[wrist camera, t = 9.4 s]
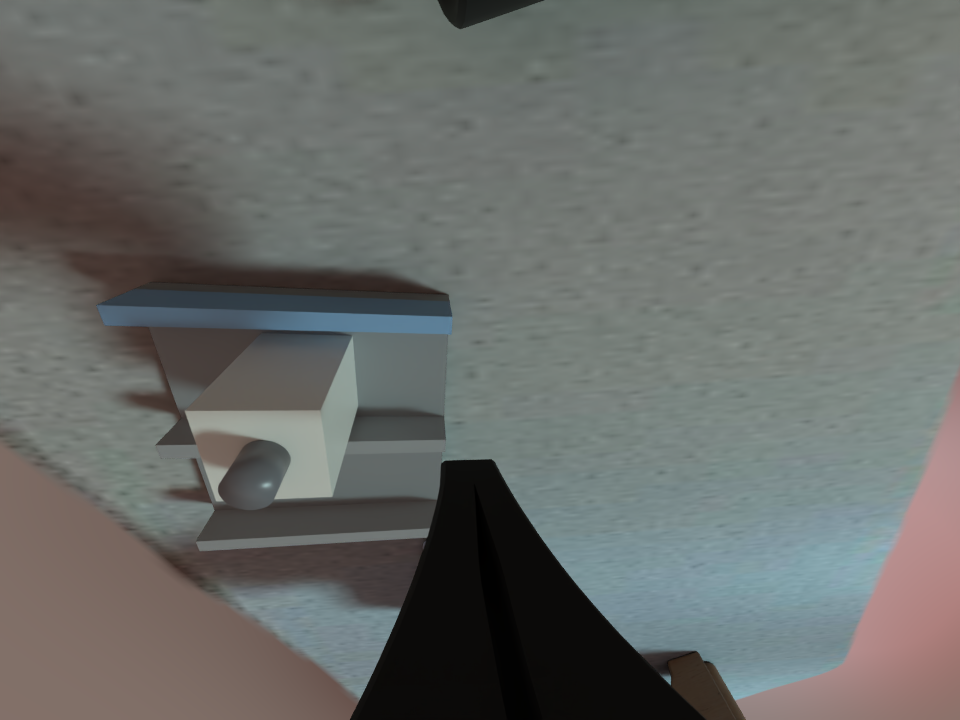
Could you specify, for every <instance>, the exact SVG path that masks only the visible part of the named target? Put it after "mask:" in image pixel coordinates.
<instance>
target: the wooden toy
mask: <svg viewBox="0 0 960 720" xmlns="http://www.w3.org/2000/svg"><path fill="white" fill-rule="evenodd" d="M668 667H669V671H670V675H671V686H672V687H673V688H674V689H675V690H676V691H677V692H678V693H679V694H680V695H681V696H682V697H683V698H684V699H685V700H686V701H688V702H689V703H690V704H691V705H692V706H693V707H694V708H695V709H696V710H697V711H698V712H699V713H700V714H701V715H702V716H703V717H704V718H706V719H707V720H746V719H745V717H744V716H743V714H742V712H741V710H740V709H739V707H738V705H737V704H736V702H735V700H734V698H733V696H732V695H731V693H730V691H729V690H728V688H727V686H726V684H725V683H724V681H723V679H722V677H721V676H720V674H719V672H718V670H717V669H716V667H715V666H714V665H713V664H712V663H704V662H703V660H702V658H701V656H700V654H699V653H698V652H694V653H691V654H688V655H685V656H681V657H678V658H675V659H672V660H669V661H668Z"/></svg>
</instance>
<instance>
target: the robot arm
mask: <svg viewBox="0 0 960 720" xmlns="http://www.w3.org/2000/svg"><path fill="white" fill-rule="evenodd" d="M350 720H707V719H706V718H704V717H703V716H702V715H701V714H700V713H699V712H698V711H697V710H696V709H695V708H694V707H693V706H692V705H691V704H690V703H689V702H688V701H686V700H685V699H684V698H683V697H682V696H681V695H680V694H679V693H678V692H677V691H676V690H675V689H674V688H673V687H672V686H671V685H670V684H668V682H667V681H666V680H665V679H664V678H663V677H662V676H661V675H660V674H659V673H658V672H657V671H656V670H655V669H654V668H653V667H652V666H651V665H650V664H649V663H648V662H647V661H646V660H645V659H644V658H643V657H642V656H641V655H640V654H639V653H638V652H637V651H636V650H635V649H634V648H633V647H632V646H631V645H630V644H629V643H628V642H627V641H626V640H625V639H624V638H623V637H622V636H621V635H620V634H619V632H618V631H617V630H616V629H615V628H614V627H613V626H612V625H611V624H610V623H609V621H608V620H607V619H606V618H605V617H604V616H603V615H602V614H601V613H600V611H599V610H598V609H597V608H596V607H595V606H594V605H593V603H592V602H591V601H590V600H589V599H588V598H587V596H586V595H585V594H584V593H583V592H582V591H581V589H580V588H579V587H578V586H577V585H576V583H575V582H574V581H573V580H572V578H571V577H570V576H569V575H568V573H567V572H566V571H565V569H564V568H563V567H562V566H561V564H560V563H559V562H558V560H557V559H556V558H555V556H554V555H553V554H552V552H551V551H550V550H549V548H548V547H547V546H546V544H545V543H544V541H543V540H542V539H541V537H540V536H539V534H538V533H537V531H536V530H535V528H534V527H533V525H532V524H531V522H530V521H529V519H528V518H527V516H526V515H525V513H524V512H523V510H522V509H521V507H520V506H519V504H518V503H517V501H516V499H515V498H514V496H513V494H512V493H511V491H510V489H509V488H508V486H507V484H506V482H505V481H504V479H503V477H502V475H501V473H500V471H499V469H498V467H497V466H496V463H495V462H494V461H493V460H492V459H487V460H452V461H444V462H443V463H442V464H441V471H440V487H439V493H438V498H437V503H436V507H435V511H434V515H433V518H432V522H431V526H430V530H429V533H428V537H427V540H426V541H425V542H424V543H423V552H422V555H421V558H420V561H419V563H418V566H417V569H416V572H415V575H414V578H413V580H412V583H411V586H410V588H409V591H408V593H407V596H406V598H405V601H404V603H403V606H402V608H401V611H400V613H399V616H398V618H397V620H396V623H395V625H394V627H393V630H392V632H391V634H390V636H389V639H388V641H387V643H386V645H385V648H384V650H383V652H382V654H381V657H380V659H379V661H378V663H377V665H376V667H375V670H374V672H373V674H372V676H371V678H370V680H369V682H368V684H367V686H366V689H365V691H364V693H363V695H362V697H361V699H360V701H359V703H358V705H357V707H356V709H355V711H354V712H353V714H352V716H351V719H350Z"/></svg>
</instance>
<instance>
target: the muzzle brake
mask: <svg viewBox="0 0 960 720" xmlns="http://www.w3.org/2000/svg"><path fill="white" fill-rule="evenodd" d="M541 1H543V0H438V2H439V4H440V6H441V9H442V11H443V13H444V15H445V16H446V17H447V19H448V20H449V22H451V23H452V24H453V25H454V26H455V27H457V28H459V29H463V28H466V27H469V26H471V25H474V24H477V23H480V22H483V21H486V20H489V19H492V18H494V17H497V16H500V15H503V14H506V13H509V12H512V11H515V10H518V9H520V8H523V7H526V6H529V5H532V4H535V3H538V2H541Z"/></svg>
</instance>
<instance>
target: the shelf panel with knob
mask: <svg viewBox="0 0 960 720" xmlns="http://www.w3.org/2000/svg"><path fill="white" fill-rule="evenodd" d="M96 306H97V309H98V311H99V313H100V316H101V318H102V320H103V323H104V325H105V326H143V327H149V330H150V333H151V336H152V339H153V341H154V344H155V347H156V350H157V352H158V355H159V358H160V361H161V363H162V366H163V369H164V372H165V374H166V377H167V380H168V383H169V385H170V388H171V391H172V394H173V397H174V399H175V402H176V405H177V408H178V410H179V413H180V416H181V419H180V420H179V421H178V422H177V423H176V424H175V425H174V427H173V428H172V429H171V430H170V431H169V432H168V433H167V434H166V435H165V436H164V437H163V438H162V439H161V440H160V441H159V442H158V443H157V444H156V445H155V446H156V449H157V451H158V453H159V456H160V458H161V459H181V458H196V460H197V463H198V466H199V468H200V471H201V474H202V477H203V479H204V482H205V485H206V488H207V490H208V493H209V496H210V499H211V501H212V504H213V507H214V510H215V511H214V513H213V514H212V516H211V517H210V519H209V521H208V522H207V524H206V526H205V527H204V529H203V530H202V532H201V534H200V535H199V537H198V539H197V540H196V544H197V546H198V548H199V551H213V550H229V549H246V548H262V547H279V546H295V545H312V544H329V543H345V542H362V541H378V540H395V539H411V538H427V537H428V533H429V530H430V526H431V522H432V518H433V515H434V511H435V507H436V503H437V498H438V493H439V487H440V471H441V464H442V452H445V444H446V437H445V423H444V406H445V385H446V365H447V344H448V334H451V332H452V312H451V307H450V301H449V295H443V294H419V293H396V292H372V291H348V290H325V289H301V288H277V287H254V286H230V285H206V284H183V283H159V282H150V283H147V284H145V285H143V286H140V287H138V288H136V289H133V290H131V291H128V292H126V293H124V294H121V295H119V296H117V297H114V298H112V299H110V300H107V301H105V302H102V303H100V304H98V305H96ZM261 333H270V334H308V335H345V336H353V347H354V360H355V372H356V385H357V397H358V408H357V411H356V415H355V418H354V422H353V426H352V429H351V433H350V436H349V440H348V443H347V447H346V450H345V454H344V457H343V461H342V464H341V468H340V472H339V475H338V479H337V482H336V486H335V489H334V493H333V496H332V497H316V498H291V499H274V500H273V502H272V503H271V504H270V505H268V506H267V507H265V508H262V509H258V510H242V509H238V508H235V507H233V506H230V505H229V504H227V503H226V502H225V501H216V499H215V497H214V494H213V491H212V488H211V485H210V482H209V479H208V476H207V474H206V471H205V468H204V465H203V462H202V459H201V456H200V454H199V451H198V448H197V445H196V442H195V439H194V436H193V433H192V431H191V428H190V425H189V422H188V419H187V416H186V413H185V410H186V409H187V408H188V407H189V406H190V405H191V404H192V403H193V402H194V401H195V400H196V399H197V398H198V397H199V396H200V395H201V394H202V393H203V392H204V391H205V390H206V389H207V388H208V387H209V386H210V385H211V384H212V383H213V382H214V381H215V380H216V379H217V378H218V377H219V376H220V375H221V374H222V372H223V371H224V370H225V369H226V368H227V367H228V366H229V365H230V364H231V363H232V362H233V361H234V360H235V359H236V358H237V357H238V356H239V355H240V354H241V353H242V352H243V351H244V350H245V349H246V348H247V347H248V346H249V345H250V344H251V343H252V342H253V341H254V340H255V339H256V338H257V337H258V336H259V335H260V334H261Z"/></svg>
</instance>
